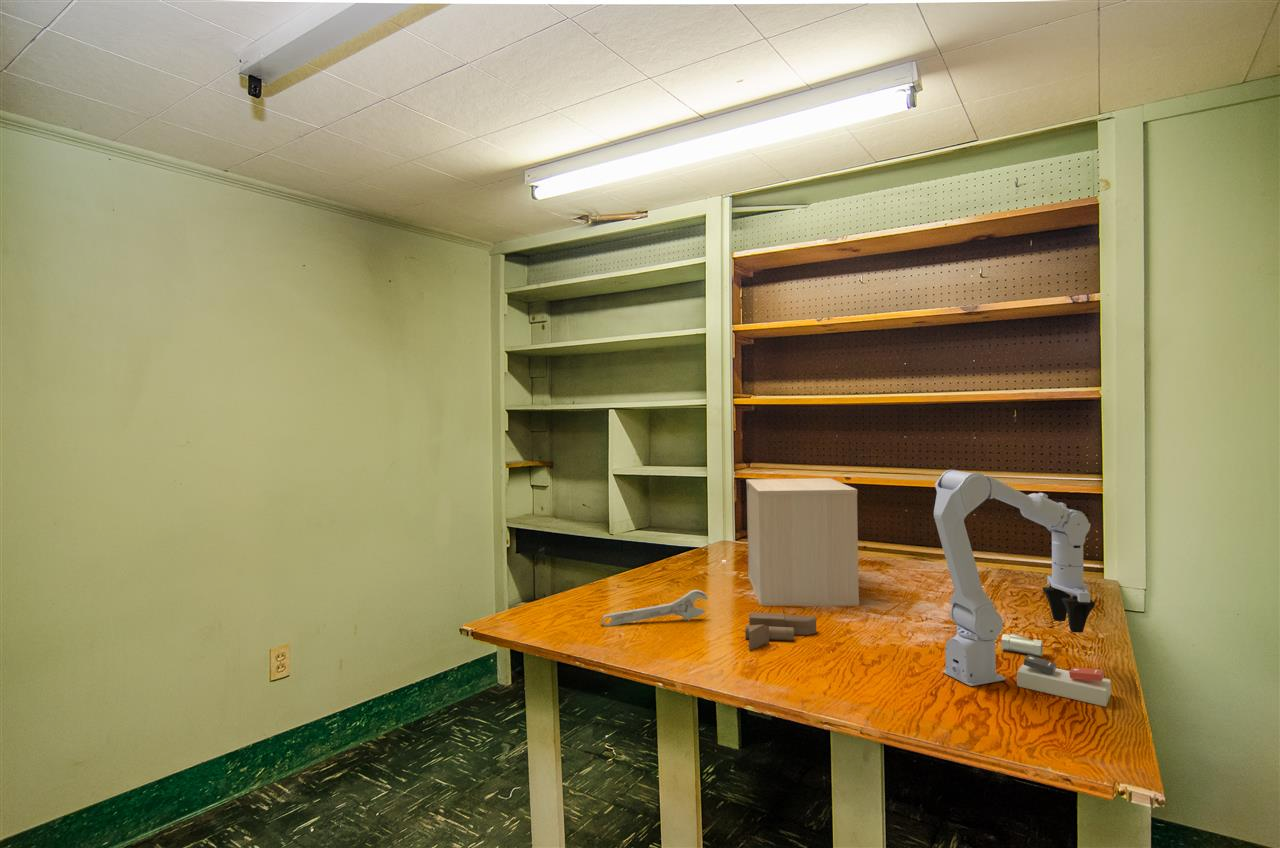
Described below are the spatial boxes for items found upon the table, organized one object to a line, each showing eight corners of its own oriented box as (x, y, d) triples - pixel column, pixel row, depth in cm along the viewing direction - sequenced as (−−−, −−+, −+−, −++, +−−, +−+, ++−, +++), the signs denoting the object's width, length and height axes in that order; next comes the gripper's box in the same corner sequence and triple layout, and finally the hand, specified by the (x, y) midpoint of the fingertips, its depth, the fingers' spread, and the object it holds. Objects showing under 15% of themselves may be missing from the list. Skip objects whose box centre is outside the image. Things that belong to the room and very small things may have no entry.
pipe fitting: (1006, 645, 159) (1001, 652, 153) (1006, 629, 159) (1001, 635, 154) (1044, 652, 154) (1040, 659, 148) (1044, 636, 154) (1040, 642, 149)
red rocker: (1104, 675, 128) (1103, 669, 128) (1101, 681, 126) (1100, 674, 126) (1073, 673, 132) (1072, 666, 132) (1070, 678, 129) (1069, 671, 129)
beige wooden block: (747, 576, 229) (746, 479, 228) (831, 576, 227) (830, 477, 227) (760, 605, 194) (758, 490, 193) (859, 605, 192) (857, 489, 192)
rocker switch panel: (1111, 694, 129) (1110, 679, 129) (1106, 706, 124) (1105, 691, 124) (1024, 675, 139) (1024, 661, 139) (1017, 686, 134) (1016, 671, 134)
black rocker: (1055, 669, 134) (1056, 663, 134) (1052, 674, 131) (1053, 668, 131) (1027, 660, 137) (1028, 654, 137) (1023, 664, 135) (1024, 658, 135)
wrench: (603, 635, 180) (708, 615, 183) (604, 637, 178) (710, 617, 182) (599, 606, 180) (705, 587, 183) (600, 608, 178) (706, 589, 181)
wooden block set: (746, 608, 174) (815, 610, 171) (746, 629, 174) (815, 632, 171) (744, 628, 158) (821, 631, 154) (744, 651, 158) (821, 655, 154)
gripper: (1106, 572, 133) (1106, 638, 134) (1070, 557, 148) (1071, 616, 148) (1068, 571, 135) (1069, 636, 135) (1037, 556, 149) (1037, 615, 149)
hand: (1067, 626), depth 141 cm, fingers open, 7 cm apart
